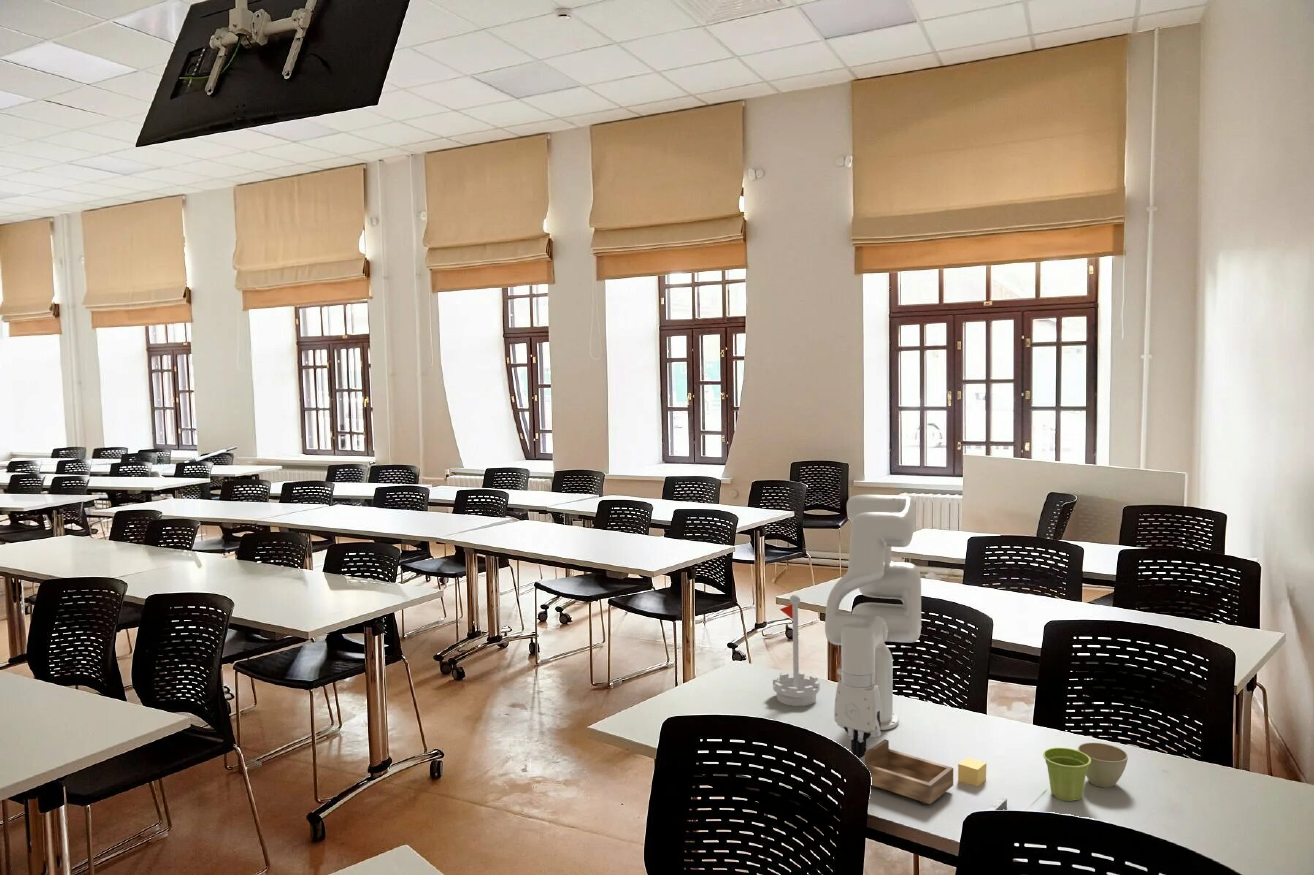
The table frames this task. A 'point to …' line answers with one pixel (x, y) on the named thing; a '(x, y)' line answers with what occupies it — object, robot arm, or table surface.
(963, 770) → the block
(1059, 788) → the plant pot
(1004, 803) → the rail
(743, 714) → the table surface
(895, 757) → the wooden crate
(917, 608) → the robot arm
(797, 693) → the flag stand
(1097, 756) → the flower pot
